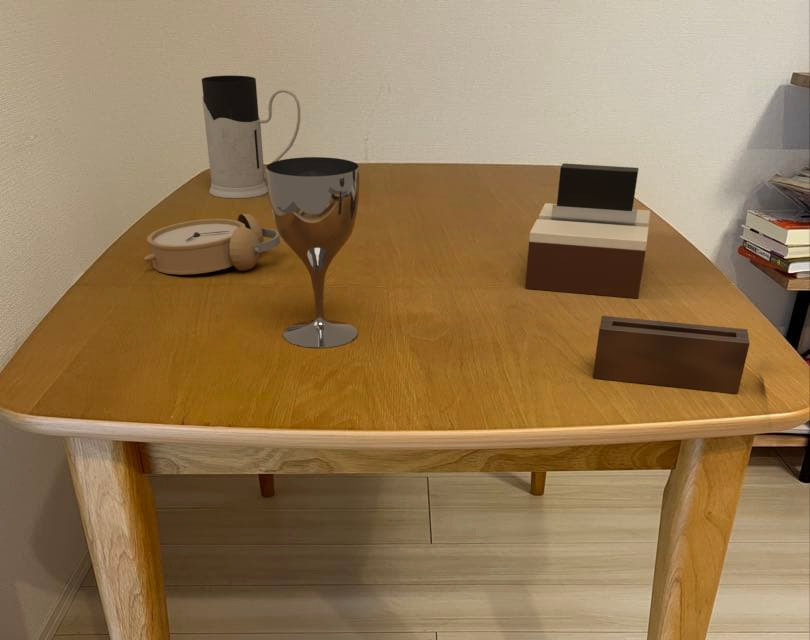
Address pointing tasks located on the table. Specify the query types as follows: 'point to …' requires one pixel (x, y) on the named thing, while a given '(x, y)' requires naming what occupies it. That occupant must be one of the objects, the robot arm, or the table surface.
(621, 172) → the dough scraper
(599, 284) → the cake near
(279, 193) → the wine glass
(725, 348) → the block
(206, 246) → the alarm clock
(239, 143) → the glass holder
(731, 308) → the table surface
